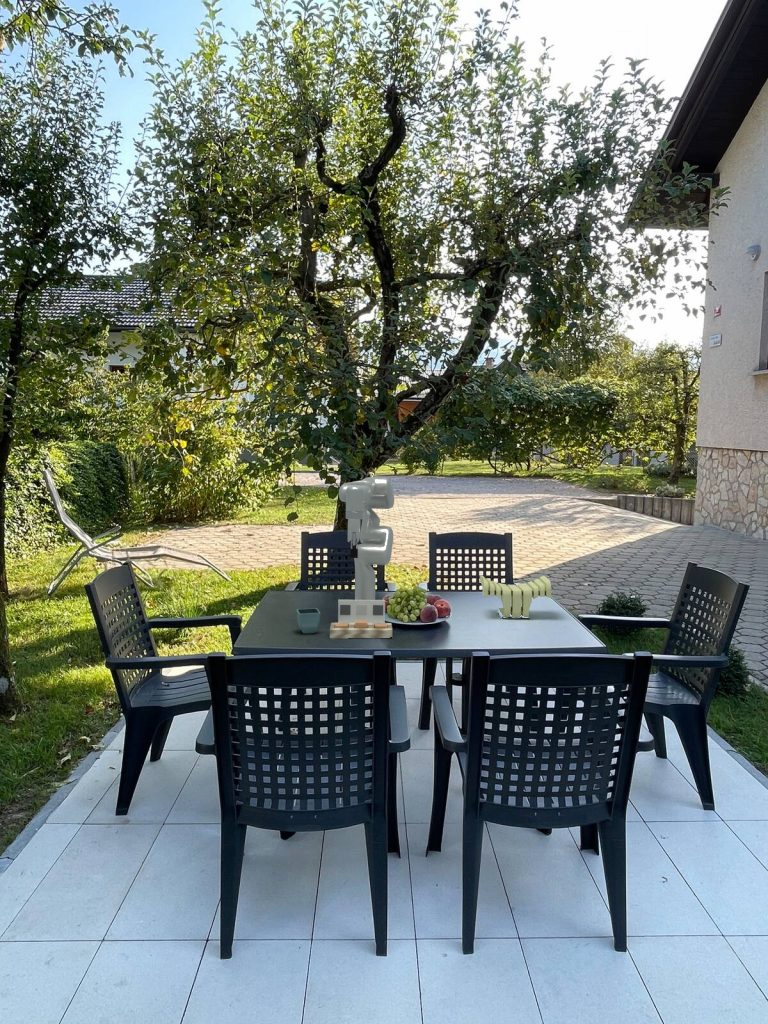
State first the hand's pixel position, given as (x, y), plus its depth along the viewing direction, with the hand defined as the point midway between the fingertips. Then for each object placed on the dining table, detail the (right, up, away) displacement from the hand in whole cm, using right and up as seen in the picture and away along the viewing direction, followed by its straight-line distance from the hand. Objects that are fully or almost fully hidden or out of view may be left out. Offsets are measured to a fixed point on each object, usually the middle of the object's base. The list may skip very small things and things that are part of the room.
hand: (354, 557), depth 310 cm
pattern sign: (+3, -29, 0) cm, 29 cm away
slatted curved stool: (+73, -29, +23) cm, 81 cm away
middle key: (+4, -29, -15) cm, 33 cm away
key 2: (+12, -30, -15) cm, 35 cm away
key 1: (-5, -30, -15) cm, 34 cm away
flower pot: (-18, -30, -12) cm, 37 cm away
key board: (+4, -31, -15) cm, 34 cm away
